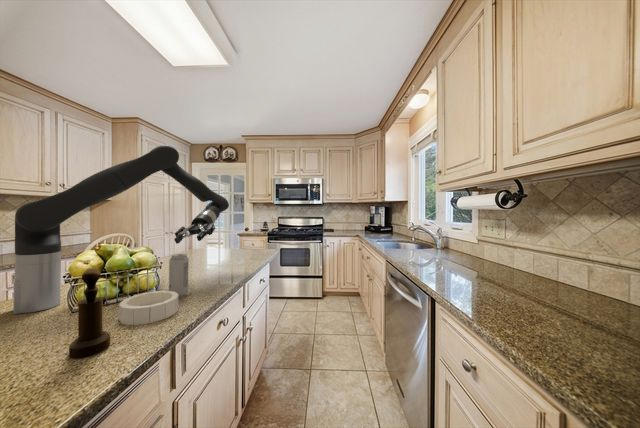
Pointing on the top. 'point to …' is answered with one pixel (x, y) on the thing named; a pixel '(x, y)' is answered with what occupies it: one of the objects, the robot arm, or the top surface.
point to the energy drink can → (179, 274)
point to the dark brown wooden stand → (90, 321)
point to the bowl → (148, 307)
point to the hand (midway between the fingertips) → (187, 240)
